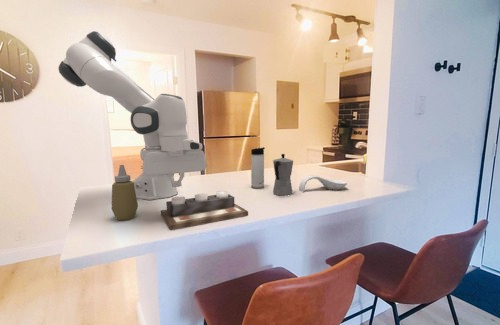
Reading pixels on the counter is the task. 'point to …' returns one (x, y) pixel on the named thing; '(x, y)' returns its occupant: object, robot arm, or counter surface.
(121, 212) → the squeeze bottle
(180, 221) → the button board
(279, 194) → the coffeepot
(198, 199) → the button middle
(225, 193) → the button right
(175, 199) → the button left
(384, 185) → the counter surface
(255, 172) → the travel mug
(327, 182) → the spoon rest
